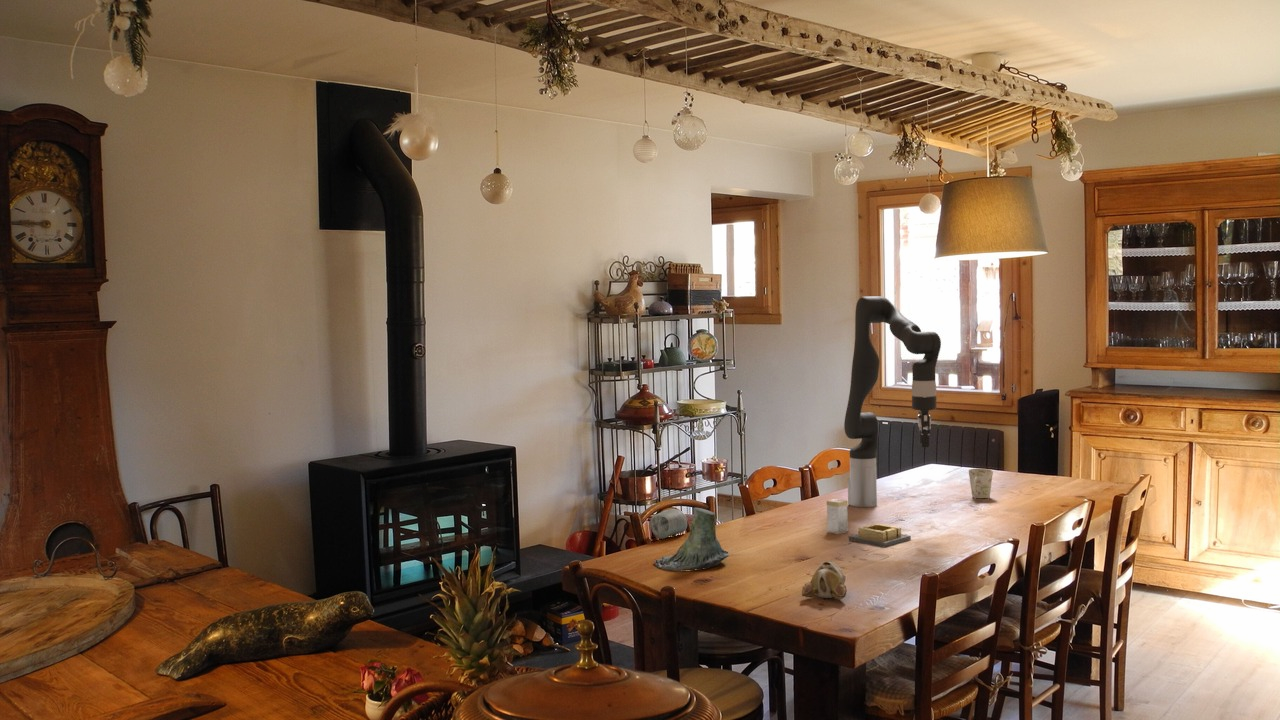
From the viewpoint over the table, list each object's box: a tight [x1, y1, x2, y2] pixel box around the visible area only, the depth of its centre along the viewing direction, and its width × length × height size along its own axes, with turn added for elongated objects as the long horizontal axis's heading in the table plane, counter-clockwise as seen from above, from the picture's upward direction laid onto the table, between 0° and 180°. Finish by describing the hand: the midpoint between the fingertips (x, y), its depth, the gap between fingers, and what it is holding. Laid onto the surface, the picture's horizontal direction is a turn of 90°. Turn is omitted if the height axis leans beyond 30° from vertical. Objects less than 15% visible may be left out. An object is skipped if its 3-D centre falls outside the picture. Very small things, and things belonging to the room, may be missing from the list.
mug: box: [968, 468, 994, 499], centre depth 355 cm, size 8×13×10 cm, turn 148°
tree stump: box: [654, 507, 730, 572], centre depth 273 cm, size 18×20×18 cm
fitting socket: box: [848, 522, 911, 548], centre depth 295 cm, size 13×13×4 cm
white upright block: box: [826, 498, 849, 535], centre depth 307 cm, size 5×5×10 cm
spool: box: [649, 508, 688, 540], centre depth 308 cm, size 14×10×10 cm
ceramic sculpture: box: [801, 559, 847, 600], centre depth 238 cm, size 11×9×15 cm
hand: (924, 445), depth 311 cm, fingers open, 8 cm apart
